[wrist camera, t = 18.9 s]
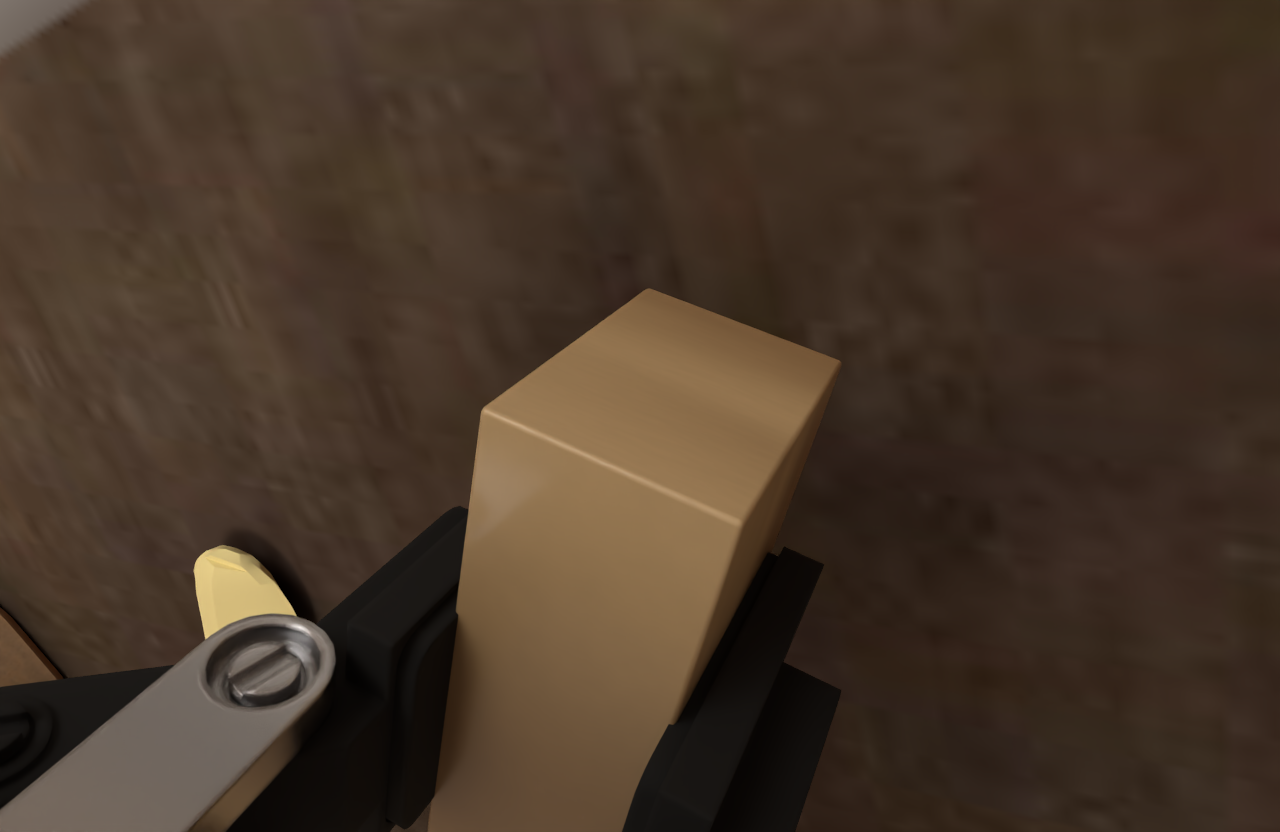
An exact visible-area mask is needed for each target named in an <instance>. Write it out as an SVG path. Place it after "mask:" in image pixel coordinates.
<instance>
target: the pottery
mask: <svg viewBox="0 0 1280 832" xmlns="http://www.w3.org/2000/svg"><path fill="white" fill-rule="evenodd" d="M59 679H63V677H62V675H61V674H60V673H59V672H58V671H57V670H56V668H55V667H54V666H53V665H52V664H51V663H50V661H49V660H48V659H47V658H46V657H45V656H44V654H43V653H42V652H41V651H40V650H39V649H38V648H37V646H36V645H35V644H34V643H33V642H32V641H31V639H30V638H29V637H28V636H27V635H26V634H25V632H24V631H23V630H22V629H21V628H20V627H19V625H18V624H17V623H16V622H15V621H14V620H13V618H12V617H11V616H10V615H8V614H7V613H6V612H5V611H4V610H3V609H2V608H0V687H3V686H11V685H19V684H27V683H35V682H43V681H51V680H59Z"/></svg>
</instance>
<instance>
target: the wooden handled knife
mask: <svg viewBox="0 0 1280 832" xmlns="http://www.w3.org/2000/svg"><path fill="white" fill-rule="evenodd" d="M840 368H841V362H840V361H839V360H837V359H834V358H832V357H829V356H826V355H824V354H821V353H818V352H816V351H813V350H811V349H808V348H805V347H803V346H800V345H797V344H795V343H792V342H790V341H787V340H784V339H782V338H779V337H776V336H774V335H771V334H768V333H766V332H763V331H761V330H758V329H755V328H753V327H750V326H747V325H745V324H742V323H740V322H737V321H734V320H732V319H729V318H726V317H724V316H721V315H718V314H716V313H713V312H711V311H708V310H705V309H703V308H700V307H697V306H695V305H692V304H690V303H687V302H684V301H682V300H679V299H676V298H674V297H671V296H669V295H666V294H663V293H661V292H658V291H655V290H653V289H646V290H644V291H643V292H641V293H640V294H639V295H637V296H636V297H635V298H633V299H632V300H630V301H629V302H628V303H626V304H625V305H624V306H622V307H621V308H619V309H618V310H617V311H615V312H614V313H613V314H611V315H610V316H608V317H607V318H606V319H604V320H603V321H602V322H600V323H599V324H597V325H596V326H595V327H593V328H592V329H591V330H589V331H588V332H586V333H585V334H584V335H582V336H581V337H580V338H578V339H577V340H575V341H574V342H573V343H571V344H570V345H569V346H567V347H566V348H565V349H563V350H562V351H560V352H559V353H558V354H556V355H555V356H554V357H552V358H551V359H549V360H548V361H547V362H545V363H544V364H543V365H541V366H540V367H538V368H537V369H536V370H534V371H533V372H532V373H530V374H529V375H527V376H526V377H525V378H523V379H522V380H521V381H519V382H518V383H516V384H515V385H514V386H512V387H511V388H510V389H508V390H507V391H505V392H504V393H503V394H501V395H500V396H499V397H497V398H496V399H494V400H493V401H492V402H490V403H489V404H488V405H486V406H485V407H484V408H483V410H482V412H481V418H480V426H479V433H478V441H477V449H476V457H475V464H474V472H473V480H472V488H471V496H470V503H469V511H468V519H467V527H466V535H465V542H464V550H463V558H462V566H461V574H460V581H459V589H458V597H457V605H456V613H457V614H458V622H457V630H456V637H455V645H454V652H453V660H452V667H451V675H450V682H449V690H448V697H447V705H446V712H445V720H444V727H443V735H442V742H441V750H440V757H439V765H438V772H437V780H436V787H435V795H434V798H433V799H432V800H431V807H430V815H429V823H428V831H427V832H622V830H623V827H624V823H625V820H626V817H627V814H628V811H629V808H630V805H631V802H632V799H633V796H634V793H635V791H636V788H637V786H638V783H639V781H640V779H641V777H642V774H643V772H644V770H645V768H646V766H647V764H648V762H649V760H650V758H651V756H652V754H653V752H654V750H655V748H656V746H657V745H658V743H659V741H660V739H661V737H662V735H663V734H664V732H665V730H666V728H667V726H668V724H671V725H674V724H675V723H677V721H678V719H679V717H680V715H681V713H682V712H683V710H684V708H685V706H686V704H687V702H688V700H689V699H690V697H691V695H692V693H693V691H694V689H695V687H696V685H697V684H698V682H699V680H700V678H701V676H702V674H703V672H704V671H705V669H706V667H707V665H708V663H709V661H710V659H711V657H712V656H713V654H714V652H715V650H716V648H717V646H718V644H719V643H720V641H721V639H722V637H723V635H724V633H725V631H726V629H727V628H728V626H729V624H730V622H731V620H732V618H733V616H734V615H735V613H736V611H737V609H738V607H739V605H740V603H741V601H742V600H743V598H744V596H745V594H746V592H747V590H748V588H749V587H750V585H751V583H752V581H753V579H754V577H755V575H756V573H757V572H758V570H759V568H760V566H761V564H762V562H763V560H764V559H765V557H766V555H767V553H768V552H769V553H772V550H773V548H774V545H775V542H776V540H777V537H778V534H779V531H780V529H781V526H782V523H783V521H784V518H785V515H786V513H787V510H788V507H789V505H790V502H791V499H792V497H793V494H794V491H795V489H796V486H797V483H798V481H799V478H800V475H801V473H802V470H803V467H804V465H805V462H806V459H807V457H808V454H809V451H810V449H811V446H812V443H813V441H814V438H815V435H816V433H817V430H818V427H819V425H820V422H821V419H822V417H823V414H824V411H825V408H826V406H827V403H828V400H829V398H830V395H831V392H832V390H833V387H834V384H835V382H836V379H837V376H838V374H839V371H840Z"/></svg>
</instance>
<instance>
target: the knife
mask: <svg viewBox="0 0 1280 832" xmlns="http://www.w3.org/2000/svg"><path fill="white" fill-rule="evenodd" d="M194 574H195V580H196V594H197V599H198V604H199V609H200V614H201V619H202V624H203V628H204V633H205V638H206V639H207V638H208V637H209V636H211V635H212V634H214V633H215V632H217V631H218V630H220V629H221V628H223V627H225V626H226V625H228V624H230V623H232V622H235V621H238V620H241V619H244V618H246V617H249V616H255V615H263V614H270V613H274V614H287V615H294V616H297V615H296V614H295V612H294V610H293V608H292V606H291V604H290V603H289V601H288V600H287V599H286V597H285V596H284V594H283V593H282V591H281V589H280V588H279V586H278V584H277V583H276V581H275V579H274V578H273V576H272V574H271V573H270V572H269V571H268V570H267V569H266V568H265V567H264V566H263V565H262V564H261V563H260V562H259V561H258V560H257V559H256V558H255V557H253V556H252V555H250V554H248V553H246V552H244V551H242V550H240V549H237V548H234V547H230V546H225V545H221V546H218V547H216V548H213V549H210V550H207V551H206V552H204V553H203V554H202V555H200V556H199V558H198V559H197V561H196V562H195V567H194Z"/></svg>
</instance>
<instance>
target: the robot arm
mask: <svg viewBox="0 0 1280 832" xmlns="http://www.w3.org/2000/svg"><path fill="white" fill-rule="evenodd" d="M468 511H469V510H467V509H465V508H463V507H461V506H459V507H454V508H452V509H450V510H449V511H447V512H446V513H444V514H443V515H442V516H441V517H440V518H439V519H437V520H436V521H435V522H434V523H433V524H432V525H431V526H429V527H428V528H427V529H426V530H425V531H424V532H422V533H421V534H420V535H419V536H418V537H417V538H415V539H414V540H413V541H412V542H411V543H410V544H408V545H407V546H406V547H405V548H404V549H403V550H402V551H400V552H399V553H398V554H397V555H396V556H395V557H393V558H392V559H391V560H390V561H389V562H388V563H386V564H385V565H384V566H383V567H382V568H381V569H379V570H378V571H377V572H376V573H375V574H374V575H373V576H371V577H370V578H369V579H368V580H367V581H366V582H364V583H363V584H362V585H361V586H360V587H359V588H357V589H356V590H355V591H354V592H353V593H352V594H350V595H349V596H348V597H347V598H346V599H345V600H344V601H342V602H341V603H340V604H339V605H338V606H337V607H335V608H334V609H333V610H332V611H331V612H330V613H328V614H327V615H326V616H325V617H324V618H323V619H321V620H320V621H319V622H318V623H317V624H316V625H315V624H314V623H313V622H311V621H309V620H306V619H303V618H300V617H297V616H294V615H287V614H274V613H270V614H263V615H255V616H249V617H246V618H244V619H241V620H238V621H235V622H232V623H230V624H228V625H226V626H225V627H223V628H221V629H220V630H218V631H217V632H215V633H214V634H212V635H211V636H209V637H208V638H207V639H206V640H204V641H203V642H202V643H201V644H200V645H198V646H197V647H196V648H195V649H194V650H192V651H191V652H190V653H189V654H188V655H186V656H185V657H184V658H183V659H182V660H180V661H179V662H178V663H177V664H175V665H171V666H163V667H155V668H147V669H139V670H131V671H123V672H115V673H107V674H99V675H91V676H83V677H75V678H67V679H59V680H51V681H43V682H35V683H27V684H19V685H11V686H3V687H0V832H390V831H391V829H392V828H393V827H394V826H395V824H396V825H398V826H400V827H401V828H403V829H407V828H409V827H410V826H411V825H412V824H413V823H414V822H415V821H416V819H417V818H418V817H419V816H420V814H421V813H422V812H423V811H424V809H425V808H426V807H427V805H428V804H429V803H430V802H431V800H432V799H433V798H434V795H435V787H436V780H437V772H438V765H439V757H440V750H441V742H442V735H443V727H444V720H445V712H446V705H447V697H448V690H449V682H450V675H451V667H452V660H453V652H454V645H455V637H456V630H457V622H458V614H457V613H456V605H457V597H458V589H459V581H460V574H461V566H462V558H463V550H464V542H465V535H466V527H467V519H468ZM823 566H824V564H822V563H820V562H817V561H815V560H813V559H811V558H808V557H806V556H804V555H802V554H800V553H797V552H795V551H793V550H791V549H788V548H786V547H784V548H783V549H782V551H781V553H780V555H779V557H778V556H776V555H774V554H772V553H769V552H768V553H767V555H766V557H765V559H764V560H763V562H762V564H761V566H760V568H759V570H758V572H757V573H756V575H755V577H754V579H753V581H752V583H751V585H750V587H749V588H748V590H747V592H746V594H745V596H744V598H743V600H742V601H741V603H740V605H739V607H738V609H737V611H736V613H735V615H734V616H733V618H732V620H731V622H730V624H729V626H728V628H727V629H726V631H725V633H724V635H723V637H722V639H721V641H720V643H719V644H718V646H717V648H716V650H715V652H714V654H713V656H712V657H711V659H710V661H709V663H708V665H707V667H706V669H705V671H704V672H703V674H702V676H701V678H700V680H699V682H698V684H697V685H696V687H695V689H694V691H693V693H692V695H691V697H690V699H689V700H688V702H687V704H686V706H685V708H684V710H683V712H682V713H681V715H680V717H679V719H678V721H677V723H675V724H674V725H671V724H668V726H667V728H666V730H665V732H664V734H663V735H662V737H661V739H660V741H659V743H658V745H657V746H656V748H655V750H654V752H653V754H652V756H651V758H650V760H649V762H648V764H647V766H646V768H645V770H644V772H643V774H642V777H641V779H640V781H639V783H638V786H637V788H636V791H635V793H634V796H633V799H632V802H631V805H630V808H629V811H628V814H627V817H626V820H625V823H624V827H623V830H622V832H795V830H796V827H797V824H798V821H799V818H800V815H801V812H802V809H803V806H804V803H805V800H806V797H807V794H808V791H809V788H810V785H811V782H812V779H813V776H814V773H815V770H816V767H817V764H818V761H819V758H820V755H821V752H822V749H823V746H824V743H825V740H826V737H827V734H828V731H829V728H830V725H831V722H832V719H833V716H834V713H835V710H836V707H837V704H838V701H839V697H840V693H841V690H840V689H838V688H836V687H834V686H832V685H830V684H828V683H825V682H823V681H821V680H819V679H817V678H815V677H813V676H811V675H809V674H807V673H805V672H803V671H801V670H799V669H796V668H794V667H792V666H790V665H788V664H786V663H784V662H783V661H784V659H785V657H786V654H787V652H788V649H789V647H790V645H791V642H792V640H793V638H794V635H795V633H796V631H797V628H798V626H799V623H800V621H801V619H802V616H803V614H804V612H805V609H806V607H807V604H808V602H809V600H810V597H811V595H812V593H813V590H814V588H815V586H816V583H817V581H818V578H819V576H820V574H821V571H822V569H823Z"/></svg>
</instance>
